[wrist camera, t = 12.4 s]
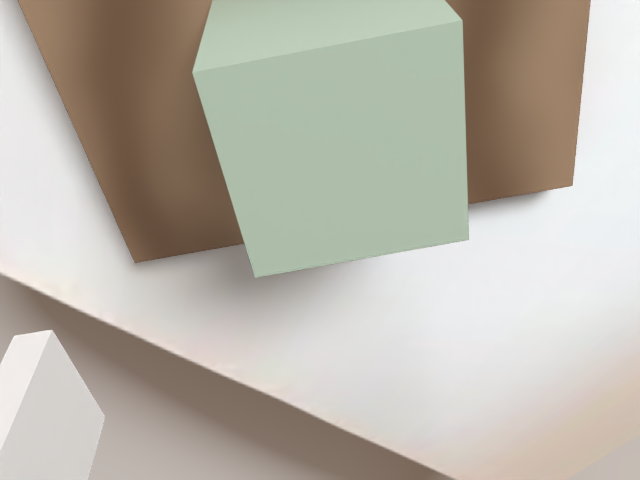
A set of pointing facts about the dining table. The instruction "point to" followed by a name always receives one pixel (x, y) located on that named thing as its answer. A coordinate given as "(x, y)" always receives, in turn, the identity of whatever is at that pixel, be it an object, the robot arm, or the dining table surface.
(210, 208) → the walnut board
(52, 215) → the dining table surface
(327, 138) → the green cube
